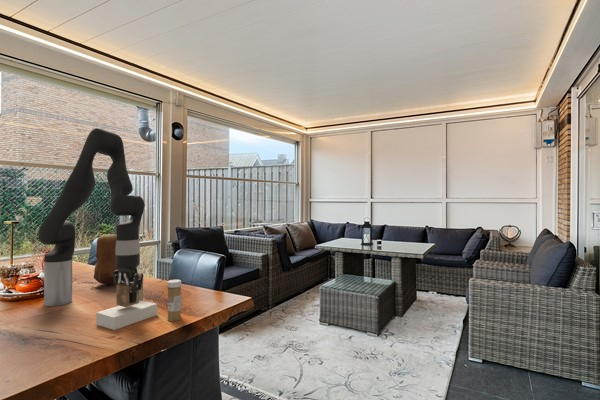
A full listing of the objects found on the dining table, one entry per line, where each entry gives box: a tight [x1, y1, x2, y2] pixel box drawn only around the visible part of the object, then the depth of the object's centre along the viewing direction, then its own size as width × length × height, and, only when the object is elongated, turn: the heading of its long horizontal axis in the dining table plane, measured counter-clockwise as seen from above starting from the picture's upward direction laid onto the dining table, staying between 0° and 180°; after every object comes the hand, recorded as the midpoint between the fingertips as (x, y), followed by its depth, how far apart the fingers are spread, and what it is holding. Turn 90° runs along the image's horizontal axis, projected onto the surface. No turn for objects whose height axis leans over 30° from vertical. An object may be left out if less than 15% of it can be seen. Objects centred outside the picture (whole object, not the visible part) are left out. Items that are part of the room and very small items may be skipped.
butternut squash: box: [93, 233, 119, 286], centre depth 164 cm, size 14×13×25 cm
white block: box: [95, 300, 158, 331], centre depth 116 cm, size 10×16×4 cm, turn 151°
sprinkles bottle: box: [166, 279, 182, 322], centre depth 116 cm, size 5×5×14 cm
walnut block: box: [116, 282, 139, 307], centre depth 116 cm, size 5×5×7 cm
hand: (127, 301), depth 116 cm, fingers closed on walnut block, 5 cm apart
